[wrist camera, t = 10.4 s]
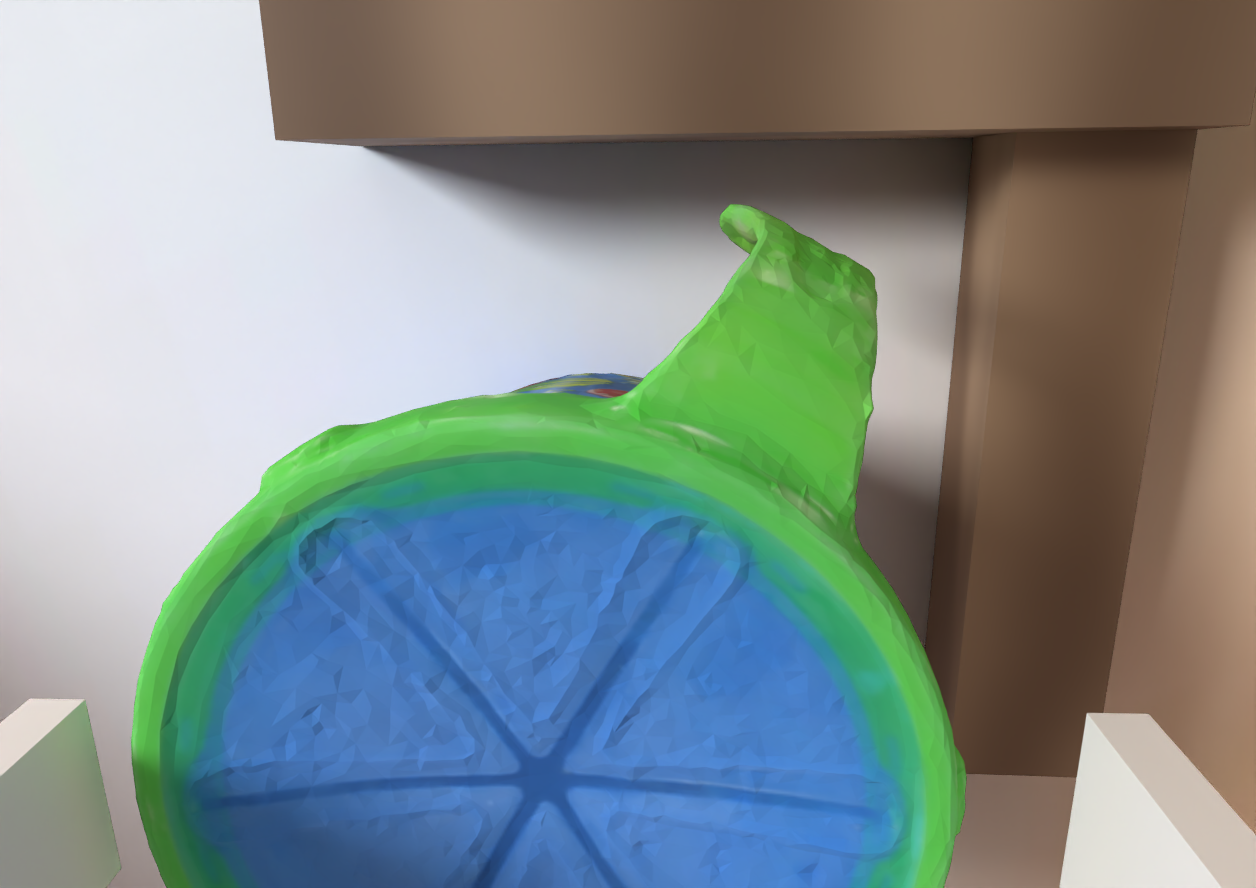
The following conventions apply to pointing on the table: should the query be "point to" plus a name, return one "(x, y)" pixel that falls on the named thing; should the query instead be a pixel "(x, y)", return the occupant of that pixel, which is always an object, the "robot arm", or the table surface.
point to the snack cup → (567, 634)
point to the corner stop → (991, 260)
